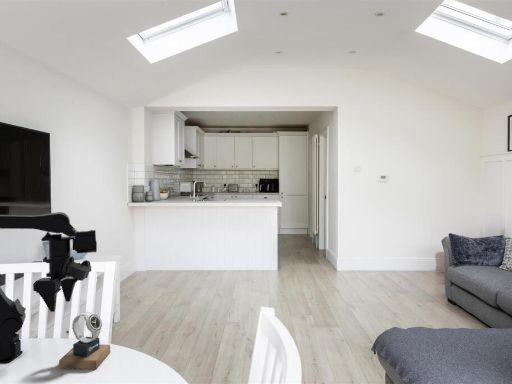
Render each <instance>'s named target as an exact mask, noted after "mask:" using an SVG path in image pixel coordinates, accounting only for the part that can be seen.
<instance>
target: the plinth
mask: <svg viewBox="0 0 512 384" xmlns="http://www.w3.org/2000/svg"><path fill="white" fill-rule="evenodd" d="M99 347H100V349H98V350H97V351H95V352H94V353H92V354H91V355H89V356H88V357H81V356H74V355H73V347H72V348H70V350H69V351H67V352H66V353H65V354H64V356H62V357H61V358H60V359H59V360H58V364H59V365H58V367H59V368H58V369H59V370H88V371H89V370H93V371H94V370H98V368H99V367H100V366H101V365H102V364H103V362H104V361H105V360H106V359H107V358H108V356H109V355H110V354H111V344H99Z"/></svg>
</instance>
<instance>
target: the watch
mask: <svg viewBox="0 0 512 384" xmlns="http://www.w3.org/2000/svg"><path fill="white" fill-rule="evenodd" d="M81 317H83V319H84V320H85V326H86V329H87V330H88V331H89V332H91V335H92V336H85V335H84V333H83V331H82V327H81V324H79V319H80V318H81ZM102 327H103V322H102V319H101V318H100V316H99V315H98V314H96V313H95V314H94V313H93V312H90V311H89V312H88V311H86V312H82V313H80V314H78V315H76V316H75V317H74V318H73V320H72V327H71V329H72V332H73V334H74V336H75V338H76V339H77V340H78V341H77V342H75V343H73V345H72V348H73V355H74V356H81V357H88V356H89V355H91V354H92V353H94V352H95V351H97V350H98V349H100V347H99V345H100V337H99V335H100V333H101V331H102Z"/></svg>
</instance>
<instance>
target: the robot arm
mask: <svg viewBox="0 0 512 384" xmlns="http://www.w3.org/2000/svg"><path fill="white" fill-rule="evenodd" d="M1 229H5V230H7V229H9V230H12V229H13V230H15V229H16V230H18V229H19V230H29V229H30V230H38V231H42V232H46V234H45V235H44V236H42V238H41V239H40V240H41V242H48V258H47V259H45V263H46V264H48V270H49V272H47V273H46V274H45V276H46V277H41V278H39V279H36V280H35V281H34V282H33V284H32V291H34V292H36V293H37V294H38V295H39V296H40V297H41V299H42V300H43V302H44V303H45V305H46V307H47V308H48V310H49V311H50V312H53V313H54V312H55V311H56V307H57V306H56V305H57V297H58V296H57V295H58V293H59V292H60V291H62V293H63V297H64V300H65V302H68V303H69V302H71V299H72V297H73V296H72V295H73V292H74V289H75V286H76V283H77V282H79V281H81V282H82V281H85V279H88V277H89V274H90V273H91V272H92V271H93V270H92V266H91V261H90V260H86V259H85V260H84V261H82V262H76V261H75V257H74V256H71V240H72V251H75V252H76V254H89V253H90V254H91V253H97V249H98V247H97V245H98V244H97V243H98V242H97V236H96V234H97V233H96V230H95V229H90V230H82V231H81V230H80V231H77V229H76V228H75V227H74V226H73V225H72V224H71V221H70V217H69V216H68V214H66V213H65V212H63V211H60V212H51V213H44V214H38V215H36V214H35V215H24V214H23V215H21V214H20V215H18V214H14V215H13V214H0V230H1ZM52 233H53V234H52ZM62 234H63V235H65V236H63V235H62ZM26 310H27V308H26V307H24V306H23V305H22V304H21V300H20V299H19V298H17V299H15V300H12V299H11V298H9V297H8V296H7V294H6V293H5V291H4V290H3V289H2V288H1V286H0V363H6V364H7V363H11V362H12V361H14V360H15V359H16V358H18V357H19V356H20V355H22V354H23V352H24V351H23V350H22V343H21V339H20V333H18V332H19V331H20V330H21V329H22V328H23V325H24V323H25V321H26V320H25V319H26Z"/></svg>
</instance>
